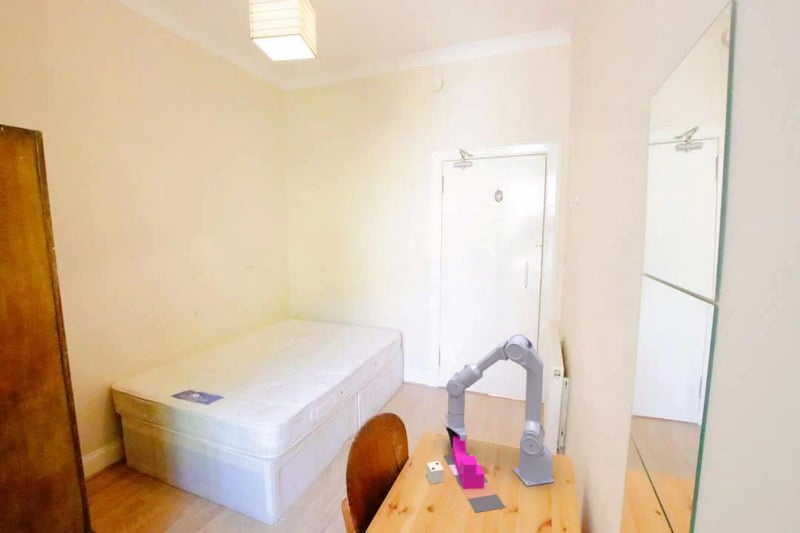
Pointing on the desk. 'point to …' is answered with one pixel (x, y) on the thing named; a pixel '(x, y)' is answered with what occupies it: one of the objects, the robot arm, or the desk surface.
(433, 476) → the die
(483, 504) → the board
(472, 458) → the toy block
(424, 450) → the desk surface
